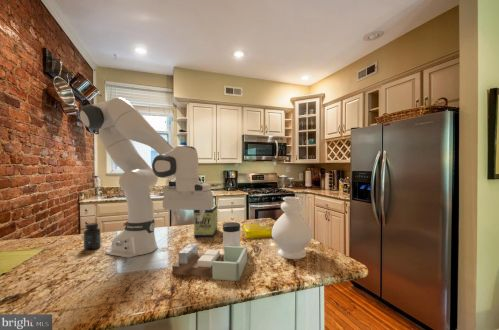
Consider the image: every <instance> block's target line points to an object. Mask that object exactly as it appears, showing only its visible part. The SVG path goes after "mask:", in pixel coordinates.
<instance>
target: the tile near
mask: <svg viewBox="0 0 499 330" xmlns="http://www.w3.org/2000/svg"><path fill="white" fill-rule="evenodd" d="M213 261H215V256H211V255H202V256H201V257H200V258H199V260H198V266H199V267H211V266H212V262H213Z"/></svg>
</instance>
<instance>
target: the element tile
mask: <svg viewBox="0 0 499 330" xmlns="http://www.w3.org/2000/svg"><path fill="white" fill-rule="evenodd" d="M272 228H273V227H271V226H270V225H269V224H268V223H266V222H261V223H246V224H243V225H242V231H243V234H244V236H245V238H246V239H258V238H259V239H260V238H273V237H272Z"/></svg>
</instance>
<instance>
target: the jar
mask: <svg viewBox="0 0 499 330" xmlns="http://www.w3.org/2000/svg"><path fill="white" fill-rule="evenodd" d="M222 243H223V244H222V249H223V250H222V251H223V252H224V246H236V247H241V224H240V223H239V222H234V221H233V222H232V221H229V222H225V223H223V224H222Z"/></svg>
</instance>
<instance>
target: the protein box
mask: <svg viewBox="0 0 499 330" xmlns="http://www.w3.org/2000/svg"><path fill="white" fill-rule="evenodd" d="M200 214H201V213H200V210H193V221H194V222H193V225H194V226H193V228H194V230H193V231H194V232H193V233H194V234H193V235H194V236H193V237H194V238H213V237H214V236H215V234H216V232H217V231H218V204H214V206H213V208H212V209H210V210H205V213H204V214H203V216H202V221H197V217H198V216H200Z"/></svg>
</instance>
